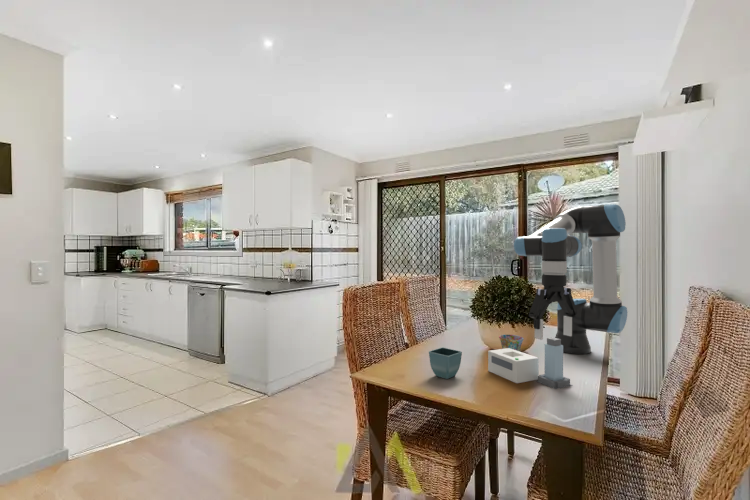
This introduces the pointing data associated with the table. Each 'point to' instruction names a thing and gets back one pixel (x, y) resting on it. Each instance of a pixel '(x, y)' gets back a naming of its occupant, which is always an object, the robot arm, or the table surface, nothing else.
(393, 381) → the table surface
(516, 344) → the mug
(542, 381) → the holster
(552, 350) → the plug
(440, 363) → the flower pot
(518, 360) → the port panel
